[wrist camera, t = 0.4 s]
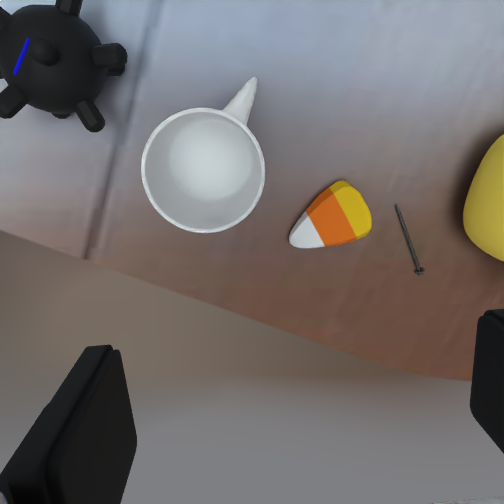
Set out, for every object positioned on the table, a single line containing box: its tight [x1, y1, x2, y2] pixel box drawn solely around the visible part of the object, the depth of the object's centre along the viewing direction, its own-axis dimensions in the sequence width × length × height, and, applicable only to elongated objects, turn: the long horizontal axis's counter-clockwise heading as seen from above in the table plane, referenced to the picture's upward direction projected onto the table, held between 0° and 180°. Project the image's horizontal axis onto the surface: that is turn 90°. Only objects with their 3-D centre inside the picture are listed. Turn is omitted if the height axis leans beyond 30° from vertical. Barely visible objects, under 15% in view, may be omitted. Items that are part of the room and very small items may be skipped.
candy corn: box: [289, 181, 372, 248], centre depth 40 cm, size 6×3×8 cm
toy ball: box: [0, 0, 127, 132], centre depth 31 cm, size 11×11×12 cm
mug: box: [141, 77, 265, 233], centre depth 33 cm, size 9×12×11 cm
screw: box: [395, 204, 424, 275], centre depth 41 cm, size 8×1×1 cm, turn 24°
